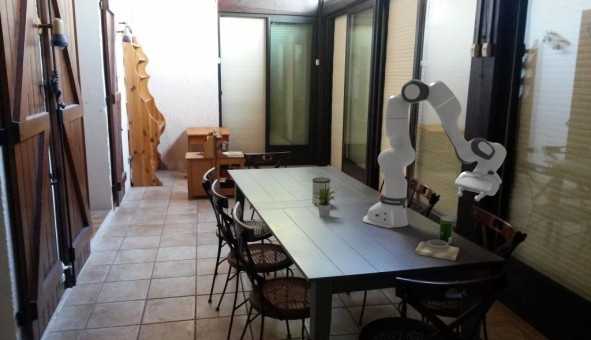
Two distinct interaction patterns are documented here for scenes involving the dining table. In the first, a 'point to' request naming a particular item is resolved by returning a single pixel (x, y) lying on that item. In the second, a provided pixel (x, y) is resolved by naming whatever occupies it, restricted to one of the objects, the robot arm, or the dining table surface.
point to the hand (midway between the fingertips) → (467, 197)
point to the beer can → (446, 229)
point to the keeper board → (437, 249)
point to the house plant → (324, 201)
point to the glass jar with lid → (320, 183)
